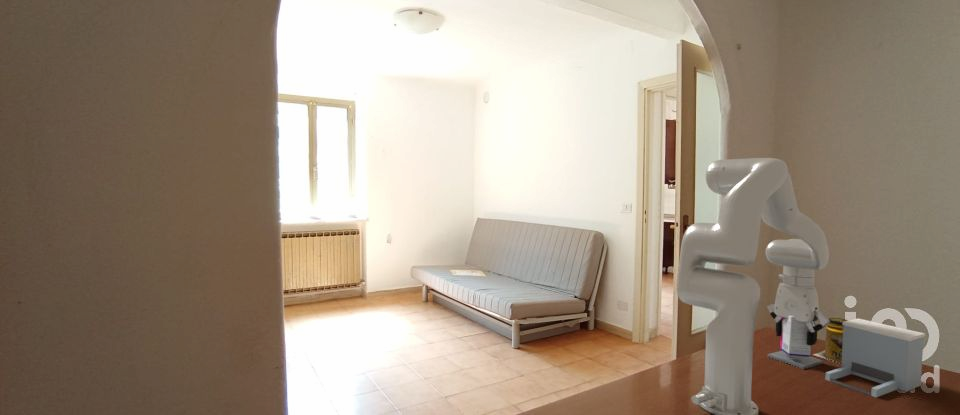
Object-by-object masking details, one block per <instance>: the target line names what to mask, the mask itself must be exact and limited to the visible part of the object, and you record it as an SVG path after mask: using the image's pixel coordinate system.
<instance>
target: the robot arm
mask: <svg viewBox="0 0 960 415" xmlns="http://www.w3.org/2000/svg"><path fill="white" fill-rule="evenodd" d="M705 182H706V185H707V187H708V189H709V190H711V191H712V192H713V193H714V194H718V195H721V196H724V197H723V199H722V201H721V203H720V207H719V215H718V220H717V222H716V223H712V222H696V223H693V224H690V225H689V226H688V227H687V228H686V229H685V230H684V231H685V232H684V233H683V235H682V240H681V246H680V253H679V260H678V269H677V276H676V277H677V278H676V294H677V297H678V298H679V300H680V301H681V302H682V303H685V304H687V305H689V306H693V307H699V308H703V309H708V310H711V311H715V312H717V316H715V318H713V319H712V320H711V321H710V322H709V324H707V327H706V330H705V331H706V332H705V353H704V354H705V356H704V357H705V359H704V382H703V383H704V386H703V385H702V387H701V391H699V392H698V393H696V394H694V395H692V396H691V398H690V400H691V402H692V403H693V404H694V405H699V407H700V408H702V409H703V410H705V411H706V412H709V413H711V414H713V415H759V407H758V405H757V404H756V402H754V401H753V400H752V382H753V381H752V380H753V379H752V378H753V356H754V332H755V322H756V316H757V312H758V307H759V303H760V298H761V287H760V284H759V283H758V281H757V280H756V279H755V278H754V277H752V276H750V275H748V274H744V273H741V272H737V271H732V270H731V271H730V270H723V269H716V268H714V269H713V268H709V267H705V266H706V264H707V263H709V264H717V265H718V264H719V265H725V266H733V267H749V266H750V265H752V264H753V263H754V262H755V260H756V257H757V254H758V248H759V241H760V232H761V223H762V222H763V223H764V224H766V225H767V226H769V227H770V228H773V229H775V230H777V231H780V232H782V233H785V234H787V235H791V236H793V237H795V238H789V239H774V240H772V241H770V242H769V243H768V244H767V245H766V248H765V257H766V259H767V261H769V263H770V264H773V265H776V266H780V267H782V271H783V272H782V273H780V274H778V279H781V281H782V282H779V284H778V288H777V290H776V295H775V299H774V300H775V301H774V303H771V304H769V305H767V306H766V308H767V311H768V312H769V313H770V316H771V317H772V318H773V322H774V323H775V332H776V333H775V336H776V337H781V328H782V318H787V319H788V318H789V316H793V317H795V318H796V321H798V322H802V323H806V325H807V326H808V328H809V331H808V332H807V345H809V346H810V345H811V346H813V345H816V343H817V342H818V332H819V331H820V330H822V329H824V328H825V327H827V326H828V323H829V322H830V320H829V318H828V317H827V316H825V315H824V314H823V313H822V312H821V311H820V310H819V309H820V307H819V296H818V291H817V288H816V287H815V271H819V270H823V269H824V268H826V267H827V265H828V262H829V259H830V253H829V246H828V242H827V238H826V235H825V232H824V231H823V229H822V228H821V227H820V226H819V224H817V223H816V222H815V221H813V220H812V218H810V217H808V216H807V215H805V214H804V213H802V212H801V211H800V210H799V206H798V203H797V198H796V194H795V191H794V185H793V180H792V177H791V174H790V173H789V169H788V164H787V163H786V162H785V161H784V160H782V159H779V158H774V157H755V158H754V157H752V158H751V157H748V158H731V159H730V158H729V159H718V160H714V161H713V162H711V163H710V164H709V165H708V166H707V168H706V171H705ZM818 320H820V322H819V323H817V321H818Z"/></svg>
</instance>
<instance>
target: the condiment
mask: <svg viewBox="0 0 960 415" xmlns="http://www.w3.org/2000/svg"><path fill="white" fill-rule="evenodd" d="M828 319H829V320H830V322H829V323H828V324H827V325H826V326H825V327H826V328H825V343H824V344H825V345H824V347H825V348H824V350H823V351H820V352H817V353H813V354H812V356H815V357H818V358H820V359H825V360H828V359H829V360H828V361H830V360H832V361H831V362H834V361H836V362H835V363H837V362H842V346H843V326H844V325H842V322H845V321H849V320H848V319H845V318H840V317H829V318H828ZM826 358H827V359H826Z"/></svg>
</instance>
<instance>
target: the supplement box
mask: <svg viewBox="0 0 960 415" xmlns="http://www.w3.org/2000/svg"><path fill="white" fill-rule="evenodd" d="M808 331H809V328H808V326H807V325H806V323H802V322H798V321H796V318H795V317H793V316H789V318H788V319H787V318H782V328H781V336H780V343H779V344H780V347H779V349H780V351H784V352H785V353H786V354H788V355H790V356H802V357H811V351H812V350H811V348H812V347H811V346H812V345H810V346H809V345H807V332H808Z"/></svg>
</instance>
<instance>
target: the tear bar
mask: <svg viewBox="0 0 960 415" xmlns="http://www.w3.org/2000/svg"><path fill="white" fill-rule="evenodd" d="M829 382H830V383H834V384H836V385H839V386H842V387H845V388H848V389H851V390H854V391H856V392H859V393H862V394H865V395H868V396H870V397H872V396H871V391H867V390H865V389H862V388H860V387H857V386H853V385H850V384H848V383H845V382H841V381H839V380H837V379H835V380H834V379H830V381H829Z"/></svg>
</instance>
